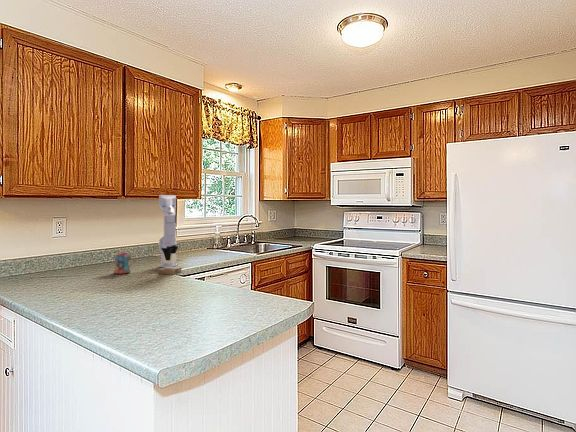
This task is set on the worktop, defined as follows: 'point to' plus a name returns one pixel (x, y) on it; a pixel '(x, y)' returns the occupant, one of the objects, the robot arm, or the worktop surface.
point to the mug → (122, 263)
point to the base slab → (169, 270)
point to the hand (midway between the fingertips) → (170, 259)
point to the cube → (172, 258)
